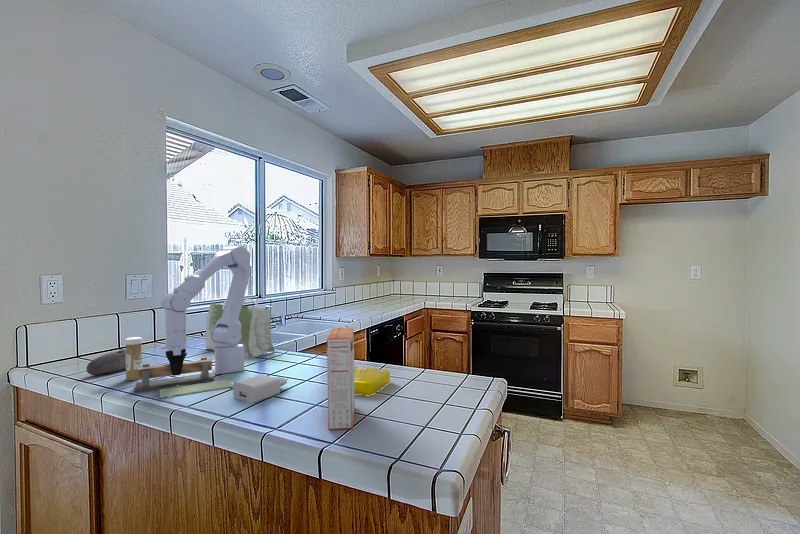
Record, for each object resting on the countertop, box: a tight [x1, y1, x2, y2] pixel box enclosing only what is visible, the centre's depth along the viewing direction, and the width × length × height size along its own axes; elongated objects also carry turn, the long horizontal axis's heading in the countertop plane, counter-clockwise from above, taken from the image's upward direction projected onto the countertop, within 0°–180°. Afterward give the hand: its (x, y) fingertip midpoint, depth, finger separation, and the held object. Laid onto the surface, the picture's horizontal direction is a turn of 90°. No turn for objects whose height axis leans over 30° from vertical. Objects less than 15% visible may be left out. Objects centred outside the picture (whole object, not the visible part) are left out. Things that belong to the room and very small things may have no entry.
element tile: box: [354, 365, 391, 395], centre depth 117 cm, size 15×15×5 cm
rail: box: [137, 358, 213, 381], centre depth 121 cm, size 20×3×3 cm, turn 123°
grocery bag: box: [205, 298, 276, 358], centre depth 168 cm, size 32×14×23 cm, turn 58°
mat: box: [159, 379, 233, 399], centre depth 115 cm, size 19×8×1 cm, turn 123°
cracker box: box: [326, 327, 356, 431], centre depth 93 cm, size 14×6×21 cm, turn 5°
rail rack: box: [134, 356, 215, 393], centre depth 121 cm, size 21×7×6 cm, turn 123°
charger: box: [232, 374, 289, 404], centre depth 112 cm, size 5×9×15 cm
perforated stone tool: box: [86, 349, 126, 376], centre depth 134 cm, size 15×5×7 cm, turn 155°
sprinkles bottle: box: [124, 336, 143, 382], centre depth 126 cm, size 5×5×14 cm
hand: (176, 373), depth 121 cm, fingers closed on rail, 3 cm apart
